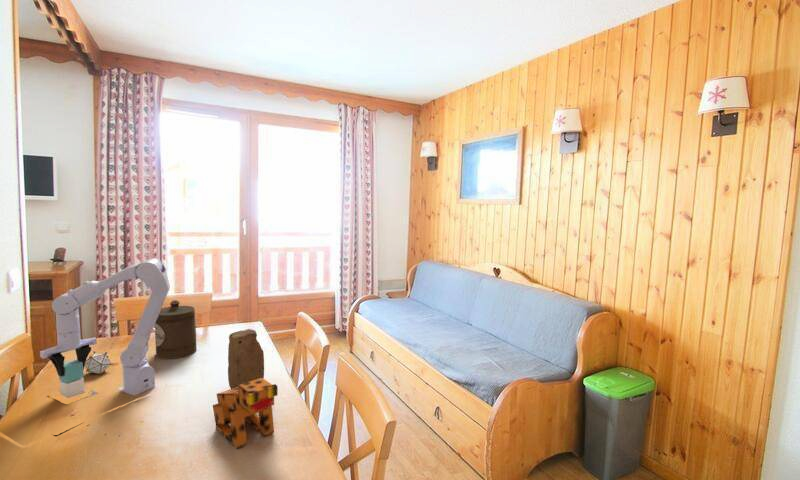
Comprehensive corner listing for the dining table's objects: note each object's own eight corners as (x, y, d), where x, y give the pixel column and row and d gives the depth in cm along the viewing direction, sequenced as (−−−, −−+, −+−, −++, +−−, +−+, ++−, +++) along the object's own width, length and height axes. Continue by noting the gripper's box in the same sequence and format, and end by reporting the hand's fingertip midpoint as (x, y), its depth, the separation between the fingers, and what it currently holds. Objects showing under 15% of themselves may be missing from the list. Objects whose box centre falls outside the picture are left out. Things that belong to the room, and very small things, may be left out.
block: (234, 397, 133) (233, 337, 131) (226, 388, 139) (225, 331, 137) (266, 387, 140) (266, 331, 138) (257, 380, 146) (257, 325, 144)
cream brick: (84, 393, 132) (83, 378, 132) (68, 399, 128) (67, 383, 128) (77, 389, 134) (76, 375, 134) (60, 395, 130) (59, 380, 130)
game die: (96, 386, 146) (79, 372, 139) (88, 372, 151) (72, 357, 144) (121, 369, 151) (107, 354, 144) (113, 355, 155) (98, 341, 148)
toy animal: (248, 412, 124) (247, 362, 122) (282, 440, 110) (281, 384, 108) (212, 426, 116) (211, 372, 115) (244, 457, 102) (243, 397, 101)
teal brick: (83, 377, 132) (82, 362, 131) (67, 382, 128) (65, 367, 127) (76, 374, 134) (74, 359, 133) (59, 379, 130) (57, 364, 129)
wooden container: (158, 348, 173) (156, 298, 171) (197, 344, 179) (195, 295, 177) (153, 361, 160) (151, 306, 158) (195, 356, 166) (194, 303, 164)
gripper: (87, 323, 137) (89, 362, 139) (33, 335, 124) (36, 378, 126) (99, 326, 134) (101, 366, 136) (45, 339, 121) (48, 383, 123)
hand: (71, 372), depth 130 cm, fingers open, 5 cm apart
